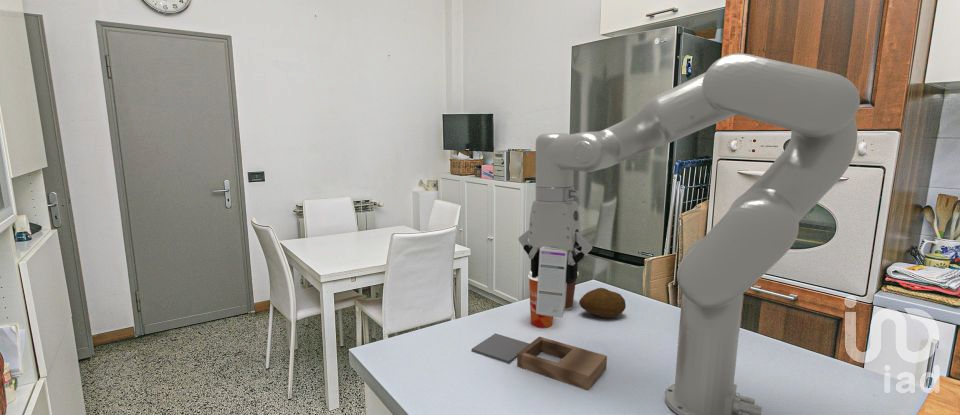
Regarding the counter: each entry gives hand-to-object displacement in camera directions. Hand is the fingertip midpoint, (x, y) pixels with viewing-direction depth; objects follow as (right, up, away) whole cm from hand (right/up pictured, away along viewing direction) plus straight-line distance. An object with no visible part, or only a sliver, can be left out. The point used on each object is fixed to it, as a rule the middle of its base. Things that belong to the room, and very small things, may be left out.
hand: (553, 278), depth 97 cm
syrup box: (-1, -7, +1) cm, 7 cm away
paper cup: (+1, -16, +24) cm, 29 cm away
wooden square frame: (+2, -19, +2) cm, 19 cm away
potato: (+18, -15, +29) cm, 37 cm away
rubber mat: (-10, -18, +10) cm, 23 cm away
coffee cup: (+8, -14, +36) cm, 39 cm away
